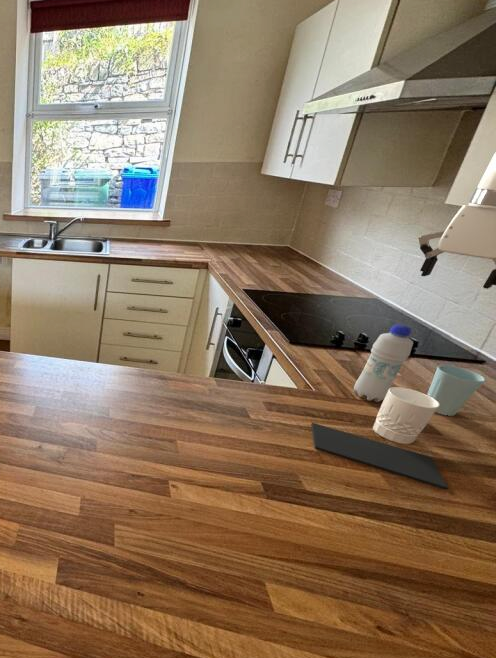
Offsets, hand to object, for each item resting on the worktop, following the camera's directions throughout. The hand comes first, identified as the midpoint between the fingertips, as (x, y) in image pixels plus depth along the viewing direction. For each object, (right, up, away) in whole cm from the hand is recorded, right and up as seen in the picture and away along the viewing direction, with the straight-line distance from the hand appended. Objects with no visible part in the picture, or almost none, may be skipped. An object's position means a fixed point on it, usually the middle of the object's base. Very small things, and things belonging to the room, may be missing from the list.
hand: (454, 281), depth 88 cm
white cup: (-13, -34, +1) cm, 37 cm away
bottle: (-5, -28, +15) cm, 32 cm away
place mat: (-23, -37, -5) cm, 44 cm away
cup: (+8, -30, +11) cm, 33 cm away
